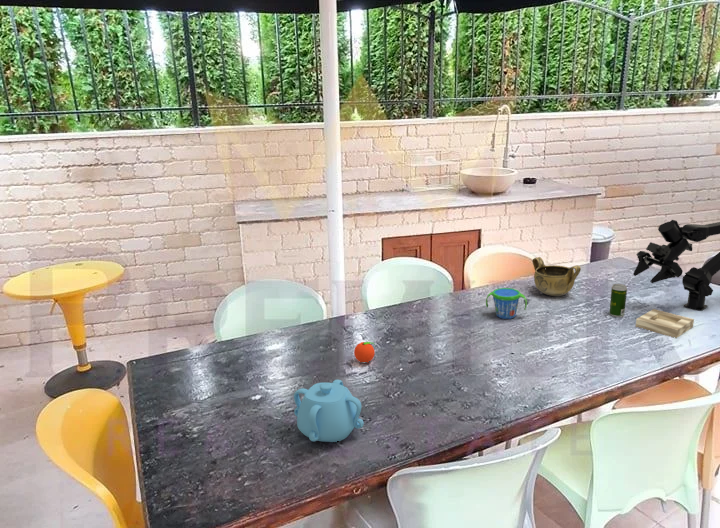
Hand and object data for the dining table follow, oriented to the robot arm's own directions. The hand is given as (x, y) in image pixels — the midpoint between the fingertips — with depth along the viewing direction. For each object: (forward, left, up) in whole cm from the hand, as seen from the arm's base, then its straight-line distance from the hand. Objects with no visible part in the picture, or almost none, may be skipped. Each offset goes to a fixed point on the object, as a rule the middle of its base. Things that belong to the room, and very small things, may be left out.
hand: (642, 278), depth 198 cm
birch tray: (+5, +12, -15) cm, 20 cm away
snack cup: (+37, -34, -15) cm, 53 cm away
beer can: (+6, -5, -15) cm, 17 cm away
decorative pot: (+134, -18, -15) cm, 136 cm away
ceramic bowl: (+2, -35, -15) cm, 38 cm away
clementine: (+102, -42, -15) cm, 112 cm away
